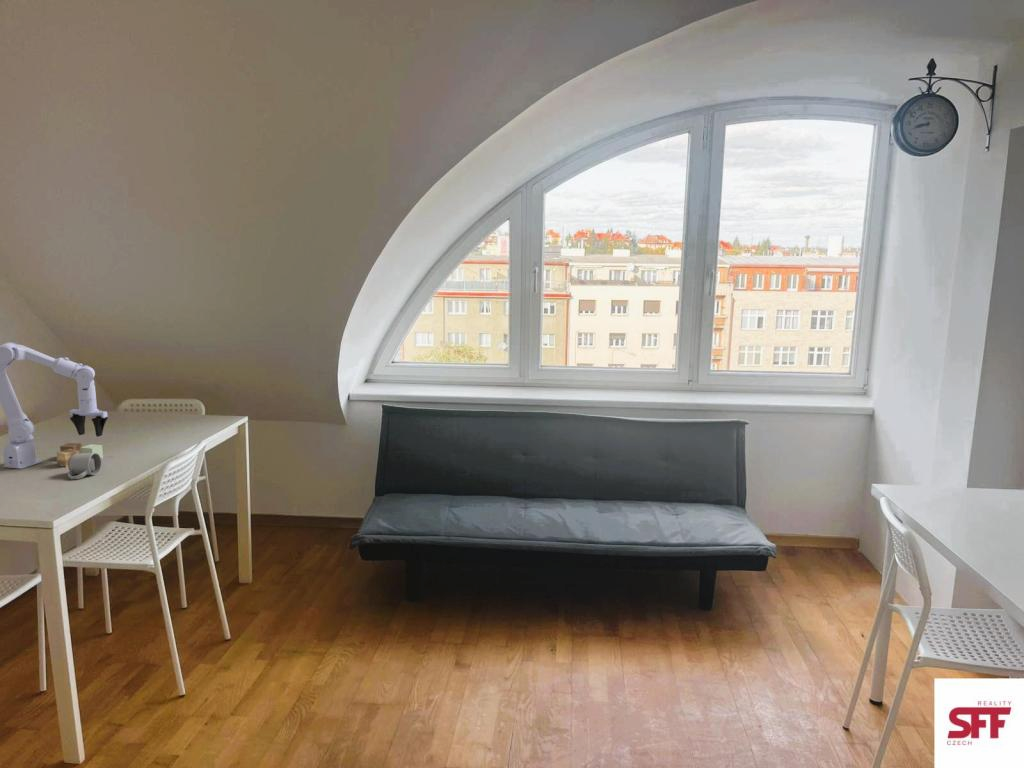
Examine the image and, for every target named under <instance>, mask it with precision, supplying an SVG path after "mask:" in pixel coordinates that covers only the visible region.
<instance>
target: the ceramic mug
mask: <svg viewBox="0 0 1024 768" xmlns="http://www.w3.org/2000/svg"><path fill="white" fill-rule="evenodd" d="M67 469H68V472H67V475H68V479H70V480H72V479H77V480H80V479H83V478H84V477H85V476H96V475H98V474H99V473H100V472H101V469H102V459H101V457H100V456H99V454H98V453H84V454H75V455H72V456H71V457H70V459H69V462H68V467H67Z"/></svg>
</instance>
